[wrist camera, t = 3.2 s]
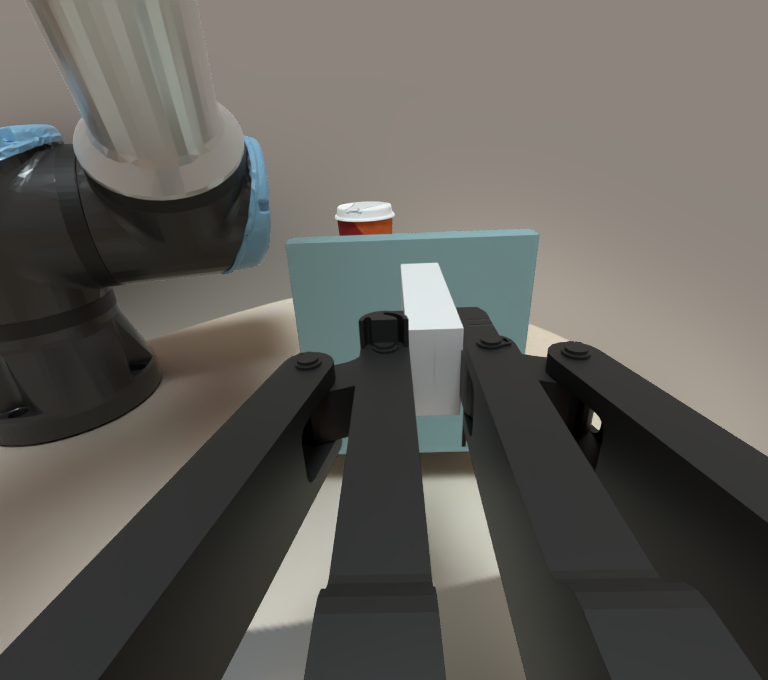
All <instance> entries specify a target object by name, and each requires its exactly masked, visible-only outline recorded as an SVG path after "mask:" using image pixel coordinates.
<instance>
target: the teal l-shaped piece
mask: <svg viewBox="0 0 768 680" xmlns="http://www.w3.org/2000/svg"><path fill="white" fill-rule="evenodd" d="M538 243H539V234H537V233H536V232H534V231H533V230H532V229H511V230H487V231H485V230H484V231H461V232H460V231H457V232H431V233H405V234H404V233H403V234H376V235H349V236H322V237H299V238H298V237H297V238H296V237H295V238H290V239H289V240H288V242H287V243H286V244H285V247H286V254H287V261H288V267H289V275H290V282H291V289H292V296H293V303H294V310H295V317H296V324H297V331H298V338H299V345H300V352H301V353H303V352H304V353H306V352H309V351H311V352H321V353H326V354H328V355H330V356H331V357H332V358H333V360H334V365H336V364H341V363H345V362H349V361H351V360H354V359H356V358H357V357H359V356H360V335H359V322H358V321H359V319H360V318H361V317H362V316H364V315H366V314H368V313H372V312H376V311H402V296H401V264H417V263H438V264H439V267H440V269H441V272H442V275H443V277H444V280H445V282H446V285H447V287H448V290H449V292H450V295H451V297H452V300H453V302H454V305H455V307H478V308H480V309H482V310H484V311H485V312H486V313H487V314H488V316H489V318H490V320H491V321H492V323H493V325H494V327H495V328H496V330H497V332H498V334H499V335H501V336H505V337H507V338H509V339H511V340H512V341H514V342H515V343H516V345H517V347H518V348H519V350H520V351H521V353H522V354H525V348H526V340H527V332H528V324H529V315H530V307H531V299H532V291H533V283H534V275H535V267H536V258H537V251H538ZM416 422H417V433H418V443H419V453H420V452H465V451H469V448H468V445H467V441H466V447H462V425H463V406H462V402H461V407H460V415H433V416H416ZM342 441H343V442H342V447H341V450H340V451H339V453H338V454H346V451H347V444H348V437H346V438H342Z"/></svg>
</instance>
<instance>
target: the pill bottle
mask: <svg viewBox="0 0 768 680" xmlns="http://www.w3.org/2000/svg"><path fill="white" fill-rule="evenodd" d="M394 216H395V214H394V212H392V207H391V205H390V204H389V203H385V202H355V203H348V204H343V205H340V206H338V208H337V215H335V219H337V220H338V227H339V233H340V236H349V235H376V234H392V217H394Z"/></svg>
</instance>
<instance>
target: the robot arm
mask: <svg viewBox="0 0 768 680" xmlns="http://www.w3.org/2000/svg"><path fill="white" fill-rule="evenodd" d="M23 2H24V4H25V6H26V8H27V9H28V12H29V14H30V16H31V17H32V19H33V21H34V23H35V25H36V27H37V29H38V31H39V33H40V35H41V37H42V39H43V41H44V43H45V45H46V47H47V49H48V51H49V53H50V55H51V57H52V59H53V60H54V62H55V65H56V66H57V69H58V70H59V72H60V74H61V76H62V78H63V80H64V82H65V84H66V86H67V88H68V90H69V92H70V94H71V96H72V98H73V100H74V102H75V104H76V106H77V108H78V110H79V112H80V114H81V116H82V118H81V119H80V120H79V122H78V124H77V126H76V128H75V131H74V135H73V144H65V139H64V137H63V136H62V135H61V134H60V133H59V131H58V130H57V129H56V128H55V127H53V126H51V125H43V124H37V125H18V126H8V127H2V128H0V445H12V446H13V445H29V444H36V443H43V442H48V441H52V440H57V439H61V438H65V437H68V436H72V435H75V434H78V433H81V432H84V431H87V430H89V429H92V428H95V427H97V426H99V425H102V424H104V423H106V422H108V421H111V420H113V419H115V418H117V417H118V416H120V415H122V414H124V413H126V412H127V411H129V410H131V409H132V408H134V407H135V406H137V405H138V404H140V403H141V402H142V401H143V400H145V399H146V398H147V397H148V396H149V395H150V394H151V393H152V392H153V391H154V390H155V389H156V387H157V386H158V384H159V382H160V380H161V370H160V367H159V364H158V361H157V357H156V355H155V353H154V351H153V350H152V348H151V347H150V346H149V345H148V343H147V342H146V341H145V340H144V338H143V337H142V336H141V334H140V333H139V332H138V331H137V329H136V328H135V327H134V326H133V324H132V323H131V322H130V321H129V319H128V318H127V317H126V316H125V314H124V313H123V312H122V311H121V310H120V308H119V305H118V303H117V300H116V297H115V294H114V291H113V288H112V286H118V285H125V284H134V283H142V282H152V281H160V280H170V279H179V278H187V277H196V276H205V275H215V274H229V273H231V272H233V271H235V270H241V269H246V268H252V267H255V266H258V265H259V264H260V263H262V262H263V260H264V259H265V257H266V255H267V253H268V249H269V243H270V227H271V223H270V221H271V220H270V210H269V206H268V205H269V185H268V177H267V170H266V165H265V160H264V156H263V153H262V149H261V146H260V145H259V143H258V141H257V140H255V139H254V138H251V137H247V136H245V135H243V133H242V129H241V127H240V125H239V123H238V122H237V120H236V119H235V117H234V116H233V115H232V114H231V113H230V112H229V111H228V110H227V109H226V108H225V107H224V106H222V105H221V104H219V103H218V102H216V97H215V92H214V87H213V81H212V75H211V70H210V65H209V60H208V54H207V49H206V44H205V39H204V33H203V28H202V23H201V18H200V12H199V7H198V2H197V0H23ZM401 296H402V311H376V312H372V313H368V314H366V315H364V316H362V317H361V318H360V319H359V321H358V322H359V335H360V356H359V357H357V358H356V359H354V360H351V361H349V362H345V363H341V364H336V365H334V360H333V358H332V357H331V356H330V355H328V354H326V353H321V352H311V351H309V352H306V353H304V352H303V353H299V354H298V355H295V356H292V357H290V358H289V359H287V360H286V361H285V362H284V363H283V364H282V365H281V366H280V367H279V368H278V369H277V370H276V371H275V372H274V373H273V374H272V375H271V376H270V377H269V378H268V379H267V380H266V381H265V382H264V383H263V384H262V385H261V386H260V387H259V389H258V390H257V391H256V392H255V393H254V394H253V395H252V396H251V397H250V398H249V399H248V400H247V401H246V402H245V403H244V404H243V405H242V406H241V407H240V408H239V409H238V410H237V411H236V412H235V413H234V414H233V415H232V416H231V417H230V418H229V419H228V421H227V422H226V423H225V424H224V425H223V426H222V427H221V428H220V429H219V430H218V431H217V432H216V433H215V434H214V435H213V436H212V437H211V438H210V439H209V440H208V441H207V442H206V443H205V444H204V445H203V446H202V447H201V448H200V449H199V450H198V451H197V452H196V454H195V455H194V456H193V457H192V458H191V459H190V460H189V461H188V462H187V463H186V464H185V465H184V466H183V467H182V468H181V469H180V470H179V471H178V472H177V473H176V474H175V475H174V476H173V477H172V478H171V479H170V480H169V481H168V482H167V483H166V484H165V485H164V487H163V488H162V489H161V490H160V491H159V492H158V493H157V494H156V495H155V496H154V497H153V498H152V499H151V500H150V501H149V502H148V503H147V504H146V505H145V506H144V507H143V508H142V509H141V510H140V511H139V512H138V513H137V514H136V515H135V516H134V517H133V518H132V520H131V521H130V522H129V523H128V524H127V525H126V526H125V527H124V528H123V529H122V530H121V531H120V532H119V533H118V534H117V535H116V536H115V537H114V538H113V539H112V540H111V541H110V542H109V543H108V544H107V545H106V546H105V547H104V548H103V549H102V550H101V551H100V553H99V554H98V555H97V556H96V557H95V558H94V559H93V560H92V561H91V562H90V563H89V564H88V565H87V566H86V567H85V568H84V569H83V570H82V571H81V572H80V573H79V574H78V575H77V576H76V577H75V578H74V579H73V580H72V581H71V582H70V583H69V584H68V586H67V587H66V588H65V589H64V590H63V591H62V592H61V593H60V594H59V595H58V596H57V597H56V598H55V599H54V600H53V601H52V602H51V603H50V604H49V605H48V606H47V607H46V608H45V609H44V610H43V611H42V612H41V613H40V614H39V615H38V616H37V617H36V619H35V620H34V621H33V622H32V623H31V624H30V625H29V626H28V627H27V628H26V629H25V630H24V631H23V632H22V633H21V634H20V635H19V636H18V637H17V638H16V639H15V640H14V641H13V642H12V643H11V644H10V645H9V646H8V647H7V648H6V649H5V650H4V652H3V653H2V654H1V655H0V680H221V679H222V677H223V675H224V673H225V671H226V669H227V667H228V665H229V663H230V662H231V660H232V658H233V656H234V653H235V652H236V650H237V648H238V646H239V644H240V642H241V640H242V638H243V636H244V634H245V633H246V631H247V629H248V627H249V625H250V623H251V621H252V619H253V617H254V615H255V613H256V611H257V609H258V608H259V606H260V604H261V602H262V600H263V598H264V596H265V594H266V592H267V590H268V588H269V586H270V584H271V583H272V581H273V579H274V577H275V575H276V573H277V571H278V569H279V567H280V565H281V563H282V561H283V559H284V557H285V556H286V554H287V552H288V550H289V548H290V546H291V544H292V542H293V540H294V538H295V536H296V534H297V532H298V530H299V529H300V527H301V525H302V523H303V521H304V519H305V517H306V515H307V513H308V511H309V509H310V507H311V505H312V503H313V502H314V500H315V498H316V496H317V494H318V492H319V490H320V488H321V486H322V484H323V482H324V480H325V478H326V476H327V475H328V473H329V471H330V469H331V467H332V465H333V463H334V461H335V459H336V457H337V455H338V453H339V451H340V450H341V447H342V442H343V441H342V438H346V437H348V444H347V451H346V458H345V465H344V473H343V480H342V487H341V495H340V502H339V509H338V516H337V524H336V531H335V538H334V545H333V553H332V560H331V567H330V575H329V580H328V585H327V587H326V589H321V590H320V593H319V595H318V598H317V603H316V608H315V613H314V618H313V625H312V631H311V637H310V644H309V650H308V657H307V663H306V669H305V675H304V680H446V676H445V666H444V656H443V647H442V639H441V628H440V619H439V610H438V602H437V594H436V589H435V587H433V583H432V575H431V565H430V555H429V544H428V534H427V524H426V514H425V504H424V494H423V483H422V473H421V463H420V453H419V443H418V433H417V422H416V416H433V415H460V407H461V402H462V406H463V425H462V447H466V441H467V445H468V448H469V452H470V456H471V460H472V464H473V468H474V472H475V476H476V480H477V484H478V488H479V492H480V496H481V500H482V504H483V508H484V512H485V516H486V520H487V524H488V528H489V532H490V536H491V540H492V544H493V548H494V552H495V556H496V560H497V564H498V568H499V572H500V576H501V580H502V584H503V588H504V592H505V596H506V600H507V604H508V608H509V612H510V616H511V620H512V624H513V627H514V632H515V636H516V639H517V644H518V647H519V652H520V656H521V659H522V663H523V667H524V671H525V675H526V679H527V680H768V457H767V456H766V455H764V454H762V453H761V452H759V451H758V450H756V449H755V448H753V447H752V446H750V445H748V444H747V443H745V442H744V441H742V440H741V439H739V438H737V437H735V436H734V435H733V434H731V433H729V432H728V431H726V430H725V429H723V428H722V427H720V426H718V425H717V424H715V423H714V422H712V421H711V420H709V419H707V418H706V417H704V416H702V415H701V414H699V413H698V412H696V411H695V410H693V409H692V408H690V407H688V406H687V405H685V404H684V403H682V402H681V401H679V400H677V399H676V398H674V397H672V396H671V395H670V394H668V393H666V392H665V391H663V390H661V389H660V388H658V387H657V386H655V385H654V384H652V383H651V382H649V381H647V380H646V379H644V378H642V377H641V376H640V375H638V374H636V373H635V372H633V371H632V370H630V369H628V368H627V367H625V366H624V365H622V364H621V363H619V362H617V361H616V360H614V359H613V358H611V357H610V356H608V355H606V354H605V353H603V352H602V351H600V350H598V349H596V348H594V347H592V346H590V345H586V344H583V343H581V342H574V341H568V342H560V343H556V344H552V345H551V346H550V347H549V348H548V354H547V357H538V356H531V355H525V354H522V353H521V351H520V350H519V348H518V347H517V345H516V343H515V342H514V341H512V340H511V339H509V338H507V337H505V336H501V335H499V334H498V332H497V330H496V328H495V327H494V325H493V323H492V321H491V320H490V318H489V316H488V314H487V313H486V312H485V311H484V310H482V309H480V308H478V307H455V305H454V302H453V300H452V297H451V295H450V292H449V290H448V287H447V285H446V282H445V280H444V277H443V275H442V272H441V269H440V267H439V264H438V263H417V264H401ZM594 412H595V413H596V414H597V415H598V416H599V418H600V420H601V422H602V423H601V428H600V430H597V429H596V428H595V427H594V426H593V425H591V423H592V418H593V413H594Z"/></svg>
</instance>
